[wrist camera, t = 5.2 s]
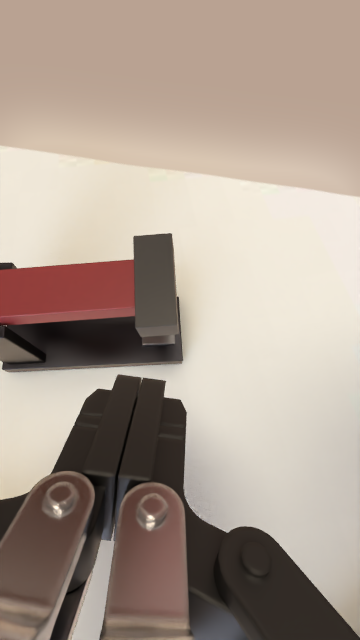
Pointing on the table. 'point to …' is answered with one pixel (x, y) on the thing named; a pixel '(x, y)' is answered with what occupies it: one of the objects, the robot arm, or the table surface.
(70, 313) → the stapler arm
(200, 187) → the table surface
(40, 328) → the stapler base
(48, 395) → the table surface
